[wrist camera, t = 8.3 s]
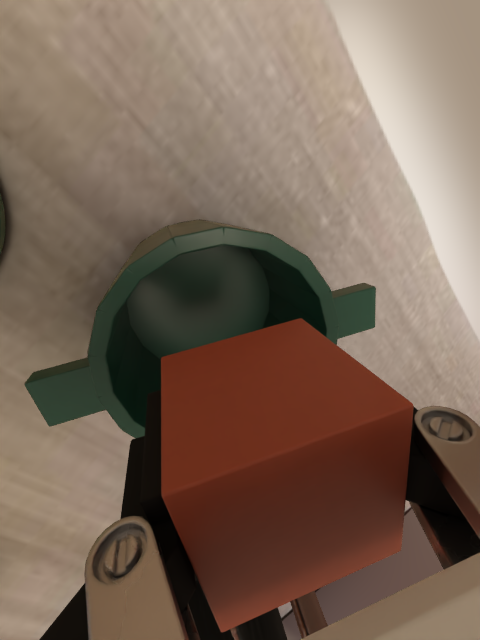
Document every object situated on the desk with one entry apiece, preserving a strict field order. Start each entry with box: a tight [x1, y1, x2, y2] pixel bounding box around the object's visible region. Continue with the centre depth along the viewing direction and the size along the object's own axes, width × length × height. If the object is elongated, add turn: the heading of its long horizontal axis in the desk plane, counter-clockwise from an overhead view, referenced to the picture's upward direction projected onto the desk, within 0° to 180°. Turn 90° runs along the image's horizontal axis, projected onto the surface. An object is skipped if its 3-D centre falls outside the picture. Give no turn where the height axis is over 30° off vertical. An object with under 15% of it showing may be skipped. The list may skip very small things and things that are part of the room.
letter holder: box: [188, 580, 328, 640], centre depth 25 cm, size 10×20×14 cm, turn 20°
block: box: [161, 318, 414, 632], centre depth 8 cm, size 5×5×5 cm
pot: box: [25, 220, 376, 438], centre depth 17 cm, size 11×17×8 cm
